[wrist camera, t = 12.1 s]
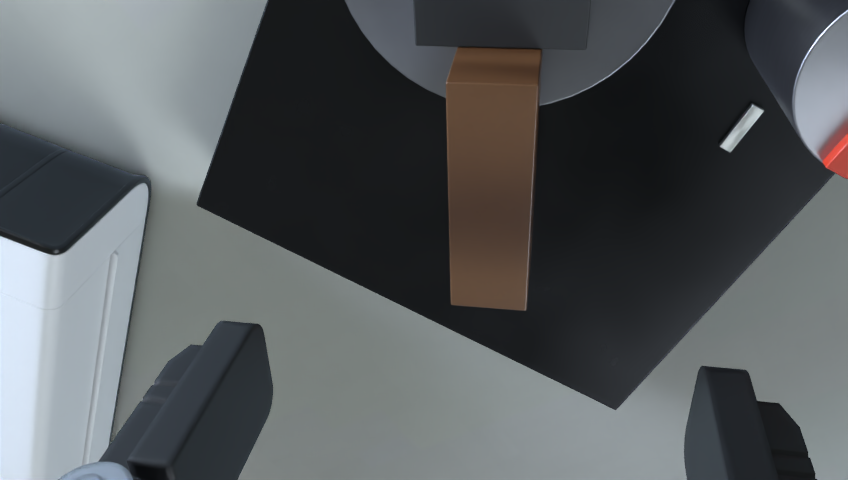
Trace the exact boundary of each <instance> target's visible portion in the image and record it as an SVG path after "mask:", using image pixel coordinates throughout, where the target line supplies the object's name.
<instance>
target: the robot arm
mask: <svg viewBox="0 0 848 480" xmlns="http://www.w3.org/2000/svg"><path fill="white" fill-rule="evenodd" d="M272 398H273V383H272V377H271V371H270V365H269V360H268V354H267V348H266V342H265V336H264V332H263V329H262V327H261V325H259V324H253V323H242V322H231V321H220V322H219V323H217V325H216V326H215V327H214V329H213V330H212V332H211V333H210V335H209V336H208V338H207V339H206V341H205V342H204V344H203V345H202V346H201V345H190V346H188V347H187V348H186V349H184V350H183V351H182V352H180V353H179V354H178V355H176V356H175V357H174V358H172V359H171V360H170V361H168V363H167V364H166V366H165V367H164V368H163V370H162V371H161V373H160V374H159V376H158V377H157V378H156V380H155V384H154V385H152V386H151V387H150V388H149V390H148V391H147V393H146V394H145V396H144V397H143V402H140V403H139V404H138V406H137V407H136V408H135V410H134V411H133V413H132V414H131V416H130V417H129V418H128V420H127V421H126V423H125V424H124V425H123V427H122V428H121V430H120V431H119V433H118V434H117V435H116V437H115V438H114V440H113V441H112V443H111V444H110V445H109V447H108V448H107V450H106V451H105V453H104V454H103V455H102V457H101V458H100V460H99V461H98V462H94V463H89V464H86V465H83V466H80V467H78V468H75V469H73V470H71V471H70V472H68V473H66V474H65V475H63V476H62V477H60V478H59V479H58V480H237V479H238V477H239V475H240V473H241V471H242V469H243V467H244V465H245V463H246V461H247V459H248V457H249V455H250V453H251V451H252V449H253V447H254V444H255V442H256V440H257V438H258V436H259V434H260V432H261V430H262V428H263V426H264V424H265V422H266V420H267V418H268V415H269V412H270V409H271V405H272ZM684 459H685V469H686V475H687V480H817V479H815V471H814V468H813V465H812V462H811V459H810V458H808V451H807V448H806V445H805V442H804V439H803V436H802V433H801V430H800V427H799V426H798V425H797V424H796V422H795V421H794V420H793V419H792V418H791V417H790V415H789V414H788V413H787V412H786V411H785V410H784V409H783V407H782V406H781V405H780V404H779V403H770V402H760V401H757V400H756V396H755V393H754V389H753V386H752V382H751V379H750V375H749V373H748V372H747V370H741V369H730V368H719V367H708V366H701V367H700V369H699V371H698V375H697V380H696V384H695V389H694V394H693V398H692V403H691V408H690V412H689V417H688V422H687V426H686V432H685V442H684Z"/></svg>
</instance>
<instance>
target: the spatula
mask: <svg viewBox="0 0 848 480" xmlns="http://www.w3.org/2000/svg"><path fill="white" fill-rule="evenodd" d="M590 9H591V0H413V11H414V32H415V45H416V46H444V47H457V50H456V53H455V56H454V59H453V62H452V65H451V68H450V71H449V74H448V78H447V81H446V120H447V163H448V206H449V249H450V292H451V305H458V306H470V307H483V308H496V309H509V310H521V311H526V310H527V301H528V289H529V276H530V264H531V250H532V232H533V215H534V197H535V180H536V162H537V144H538V127H539V109H540V92H541V74H542V57H543V49H560V50H586V49H587V42H588V31H589V20H590Z"/></svg>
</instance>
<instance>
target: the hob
mask: <svg viewBox="0 0 848 480" xmlns="http://www.w3.org/2000/svg"><path fill="white" fill-rule="evenodd" d="M749 2H750V0H675V2H674V4H673V5H672V7H671V9H670V10H669V12H668V14H667V15H666V17H665V19H664V20H663V22H662V24H661V25H660V26H659V28H658V29H657V30H656V32H655V33H654V34H653V36H652V37H651V38H650V39H649V41H648V42H647V43H646V44H645V45H644V46H643V47H642V48H641V49H640V50H639V52H638V53H637V54H636V55H635V56H634V57H633V58H632V59H631V60H630V61H628V62H627V63H626V64H625V65H623V66H622V67H621V68H620V69H618V70H617V71H616V72H615V73H614V74H612V75H611V76H609V77H608V78H606V79H604V80H603V81H601V82H600V83H598V84H596V85H595V86H593V87H591V88H589V89H587V90H585V91H583V92H581V93H579V94H576V95H574V96H572V97H569V98H566V99H563V100H560V101H557V102H554V103H551V104H546V105H540V109H539V127H538V144H537V162H536V180H535V197H534V215H533V232H532V250H531V264H530V276H529V289H528V301H527V310H526V311H521V310H509V309H496V308H483V307H470V306H458V305H451V292H450V249H449V206H448V163H447V120H446V98H444V97H442V96H440V95H438V94H436V93H433V92H431V91H429V90H427V89H425V88H423V87H422V86H420V85H418V84H417V83H415V82H413V81H412V80H410V79H408V78H407V77H406V76H405V75H403V74H402V73H401V72H399V71H398V70H397V69H396V68H394V67H393V66H392V65H391V64H390V63H389V62H388V61H387V60H386V59H385V58H384V57H383V56H382V55H381V54H380V53H379V52H378V51H377V50H376V49H375V48H374V47H373V45H372V44H371V43H370V41H369V40H368V39H367V38H366V36H365V35H364V34H363V33H362V31H361V29H360V28H359V26H358V24H357V23H356V21H355V19H354V18H353V16H352V15H351V13H350V11H349V8H348V6H347V4H346V2H345V0H268V1H267V4H266V7H265V9H264V12H263V15H262V18H261V21H260V24H259V27H258V29H257V32H256V35H255V38H254V41H253V44H252V47H251V49H250V52H249V55H248V58H247V61H246V64H245V67H244V69H243V72H242V75H241V78H240V81H239V84H238V87H237V89H236V92H235V95H234V98H233V101H232V104H231V106H230V109H229V112H228V115H227V118H226V121H225V124H224V126H223V129H222V132H221V135H220V138H219V141H218V144H217V146H216V149H215V152H214V155H213V158H212V161H211V164H210V166H209V169H208V172H207V175H206V178H205V181H204V184H203V186H202V189H201V192H200V195H199V198H198V201H197V206H199V207H201V208H203V209H205V210H207V211H209V212H211V213H213V214H215V215H217V216H220V217H222V218H224V219H226V220H228V221H230V222H232V223H234V224H236V225H238V226H240V227H242V228H244V229H246V230H248V231H250V232H252V233H254V234H256V235H258V236H260V237H262V238H265V239H267V240H269V241H271V242H273V243H275V244H277V245H279V246H281V247H283V248H285V249H287V250H289V251H291V252H293V253H295V254H297V255H299V256H301V257H303V258H305V259H308V260H310V261H312V262H314V263H316V264H318V265H320V266H322V267H324V268H326V269H328V270H330V271H332V272H334V273H336V274H338V275H340V276H342V277H344V278H346V279H348V280H350V281H353V282H355V283H357V284H359V285H361V286H363V287H365V288H367V289H369V290H371V291H373V292H375V293H377V294H379V295H381V296H383V297H385V298H387V299H389V300H391V301H393V302H396V303H398V304H400V305H402V306H404V307H406V308H408V309H410V310H412V311H414V312H416V313H418V314H420V315H422V316H424V317H426V318H428V319H430V320H432V321H434V322H436V323H438V324H441V325H443V326H445V327H447V328H449V329H451V330H453V331H455V332H457V333H459V334H461V335H463V336H465V337H467V338H469V339H471V340H473V341H475V342H477V343H479V344H481V345H484V346H486V347H488V348H490V349H492V350H494V351H496V352H498V353H500V354H502V355H504V356H506V357H508V358H510V359H512V360H514V361H516V362H518V363H520V364H522V365H524V366H526V367H529V368H531V369H533V370H535V371H537V372H539V373H541V374H543V375H545V376H547V377H549V378H551V379H553V380H555V381H557V382H559V383H561V384H563V385H565V386H567V387H569V388H572V389H574V390H576V391H578V392H580V393H582V394H584V395H586V396H588V397H590V398H592V399H594V400H596V401H598V402H600V403H602V404H604V405H606V406H608V407H610V408H612V409H614V410H616V409H617V408H618V407H619V406H620V405H621V404H622V403H623V402H624V401H625V400H626V399H627V397H628V396H629V395H630V394H631V393H632V392H633V391H634V390H635V389H636V388H637V387H638V386H639V384H640V383H641V382H642V381H643V380H644V379H645V378H646V377H647V376H648V375H649V374H650V373H651V372H652V370H653V369H654V368H655V367H656V366H657V365H658V364H659V363H660V362H661V361H662V360H663V359H664V357H665V356H666V355H667V354H668V353H669V352H670V351H671V350H672V349H673V348H674V347H675V346H676V345H677V343H678V342H679V341H680V340H681V339H682V338H683V337H684V336H685V335H686V334H687V333H688V332H689V331H690V329H691V328H692V327H693V326H694V325H695V324H696V323H697V322H698V321H699V320H700V319H701V318H702V316H703V315H704V314H705V313H706V312H707V311H708V310H709V309H710V308H711V307H712V306H713V305H714V304H715V302H716V301H717V300H718V299H719V298H720V297H721V296H722V295H723V294H724V293H725V292H726V291H727V289H728V288H729V287H730V286H731V285H732V284H733V283H734V282H735V281H736V280H737V279H738V278H739V277H740V275H741V274H742V273H743V272H744V271H745V270H746V269H747V268H748V267H749V266H750V265H751V264H752V263H753V261H754V260H755V259H756V258H757V257H758V256H759V255H760V254H761V253H762V252H763V251H764V250H765V248H766V247H767V246H768V245H769V244H770V243H771V242H772V241H773V240H774V239H775V238H776V237H777V236H778V234H779V233H780V232H781V231H782V230H783V229H784V228H785V227H786V226H787V225H788V224H789V223H790V221H791V220H792V219H793V218H794V217H795V216H796V215H797V214H798V213H799V212H800V211H801V210H802V209H803V207H804V206H805V205H806V204H807V203H808V202H809V201H810V200H811V199H812V198H813V197H814V196H815V195H816V193H817V192H818V191H819V190H820V189H821V188H822V187H823V186H824V185H825V184H826V183H827V182H828V180H829V179H830V178H831V177H832V176H833V175H834V174H835V172H833V171H831V170H829V169H827V168H826V167H825V165H824V164H823V163H822V162H820V161H819V160H818V159H817V158H816V157H814V156H813V155H812V154H811V153H810V151H809V150H808V149H807V148H806V147H805V145H804V144H803V142H802V141H801V139H800V137H799V136H798V134H797V133H796V131H795V129H794V128H793V126H792V124H791V123H790V121H789V120H788V118H787V116H786V115H785V113H784V112H783V110H782V108H781V107H780V105H779V103H778V102H777V100H776V99H775V97H774V95H773V94H772V92H771V91H770V89H769V87H768V86H767V84H766V82H765V81H764V79H763V78H762V76H761V74H760V73H759V71H758V70H757V68H756V66H755V65H754V63H753V61H752V59H751V58H750V55H749V53H748V50H747V46H746V42H745V32H744V27H745V17H746V12H747V8H748V5H749Z"/></svg>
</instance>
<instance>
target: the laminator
mask: <svg viewBox="0 0 848 480" xmlns="http://www.w3.org/2000/svg"><path fill="white" fill-rule="evenodd" d="M150 198H151V182H150V180H149V178H148V177H146V176H144V175H135V174H131V173H129V172H126V171H123V170H121V169H118V168H115V167H112V166H110V165H107V164H104V163H102V162H99V161H97V160H94V159H91V158H89V157H86V156H84V155H81V154H78V153H75V152H73V151H71V150H68V149H65V148H62V147H60V146H58V145H55V144H53V143H50V142H48V141H45V140H43V139H40V138H38V137H35V136H33V135H30V134H27V133H25V132H22V131H20V130H17V129H14V128H12V127H9V126H7V125H4V124H1V123H0V480H58V479H59V478H60V477H62V476H63V475H65V474H66V473H68V472H70V471H71V470H73V469H75V468H78V467H80V466H83V465H86V464H89V463H94V462H98V461H99V460H100V458H101V457H102V455H103V454H104V453H105V451H106V450H107V448H108V447H109V445H110V442H111V436H112V430H113V424H114V418H115V412H116V406H117V400H118V394H119V388H120V382H121V376H122V370H123V364H124V358H125V351H126V345H127V339H128V333H129V327H130V321H131V315H132V309H133V303H134V297H135V291H136V285H137V279H138V273H139V267H140V260H141V254H142V248H143V242H144V236H145V230H146V224H147V218H148V212H149V206H150Z"/></svg>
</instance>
